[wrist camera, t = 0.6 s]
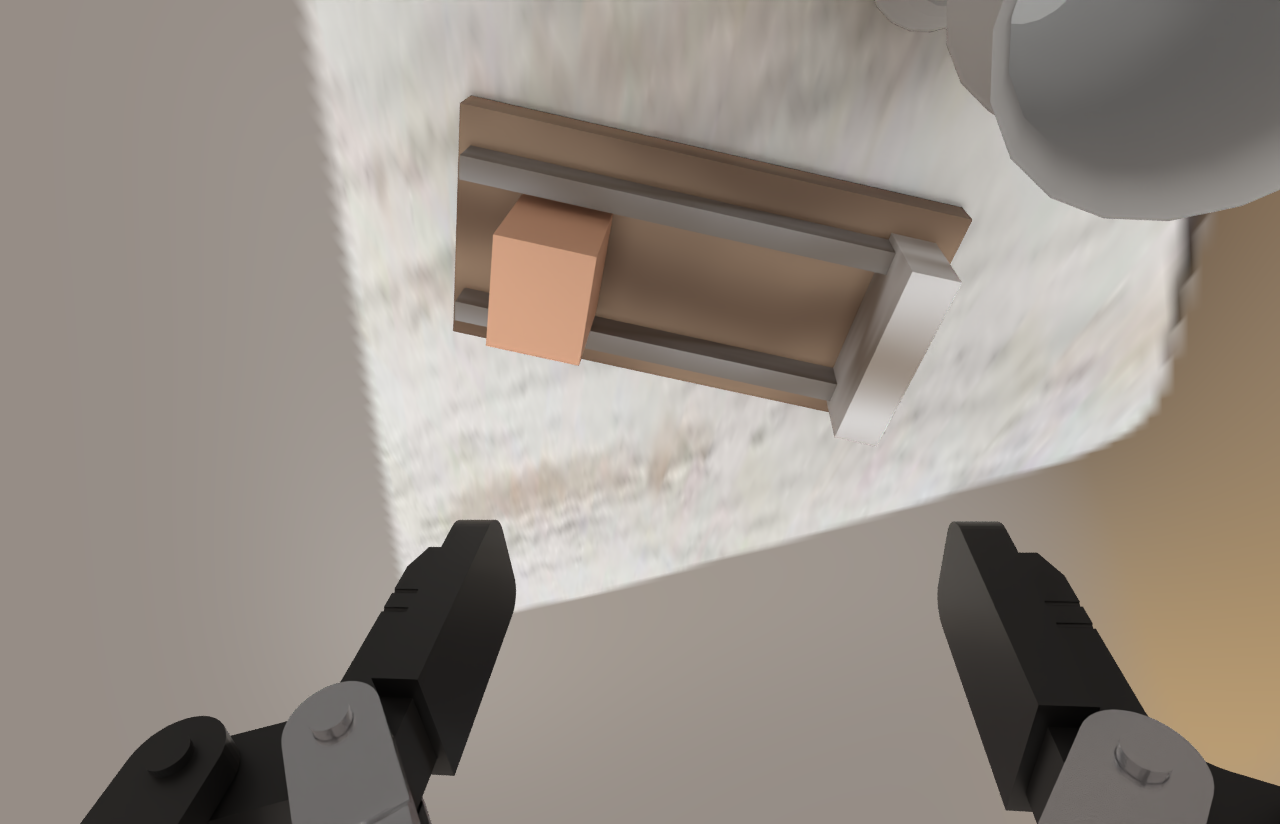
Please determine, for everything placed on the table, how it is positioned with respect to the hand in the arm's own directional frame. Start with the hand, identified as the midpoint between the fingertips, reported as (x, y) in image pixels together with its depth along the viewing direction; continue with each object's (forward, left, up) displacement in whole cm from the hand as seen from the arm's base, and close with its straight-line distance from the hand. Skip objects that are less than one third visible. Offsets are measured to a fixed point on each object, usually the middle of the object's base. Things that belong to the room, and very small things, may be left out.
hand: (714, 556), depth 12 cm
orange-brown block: (+4, -6, -21) cm, 22 cm away
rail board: (+4, 0, -22) cm, 23 cm away
